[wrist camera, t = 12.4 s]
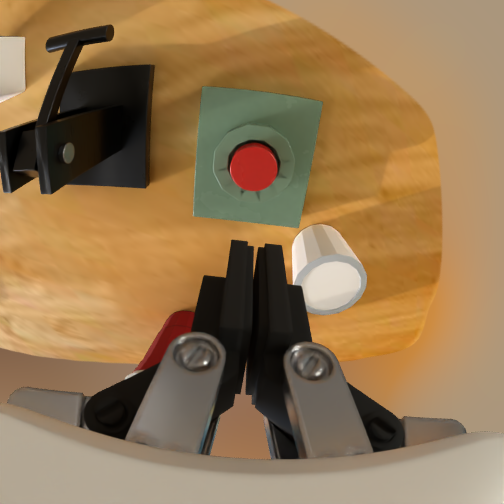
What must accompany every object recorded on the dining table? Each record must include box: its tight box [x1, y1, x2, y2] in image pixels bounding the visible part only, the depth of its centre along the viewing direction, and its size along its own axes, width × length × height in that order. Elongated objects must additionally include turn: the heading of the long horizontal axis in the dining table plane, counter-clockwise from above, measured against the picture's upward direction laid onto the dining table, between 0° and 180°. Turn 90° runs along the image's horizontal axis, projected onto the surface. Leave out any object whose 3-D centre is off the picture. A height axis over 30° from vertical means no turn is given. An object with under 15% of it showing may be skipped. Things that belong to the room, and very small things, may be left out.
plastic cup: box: [125, 311, 195, 379], centre depth 33 cm, size 11×11×12 cm
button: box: [230, 143, 278, 191], centre depth 23 cm, size 4×4×2 cm
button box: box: [193, 86, 323, 228], centre depth 25 cm, size 12×10×4 cm
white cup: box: [292, 224, 367, 315], centre depth 29 cm, size 7×7×7 cm
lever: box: [13, 25, 114, 177], centre depth 15 cm, size 12×6×2 cm
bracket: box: [0, 65, 155, 194], centre depth 19 cm, size 12×10×13 cm
